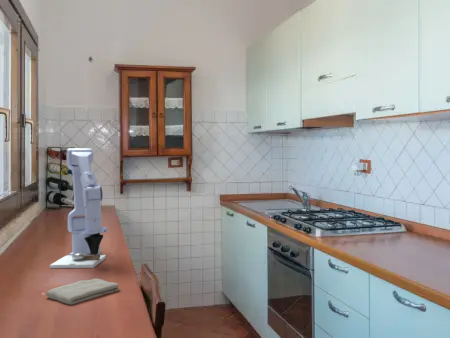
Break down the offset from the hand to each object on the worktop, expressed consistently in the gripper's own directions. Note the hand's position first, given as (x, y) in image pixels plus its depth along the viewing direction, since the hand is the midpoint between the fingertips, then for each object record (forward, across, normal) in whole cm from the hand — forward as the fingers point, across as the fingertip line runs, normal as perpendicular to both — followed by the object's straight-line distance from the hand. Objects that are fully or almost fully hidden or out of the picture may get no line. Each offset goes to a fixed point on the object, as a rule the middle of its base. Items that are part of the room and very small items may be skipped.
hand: (94, 254), depth 173 cm
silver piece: (+2, +1, +4) cm, 5 cm away
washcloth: (+4, -32, -20) cm, 38 cm away
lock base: (+4, 0, +7) cm, 8 cm away
